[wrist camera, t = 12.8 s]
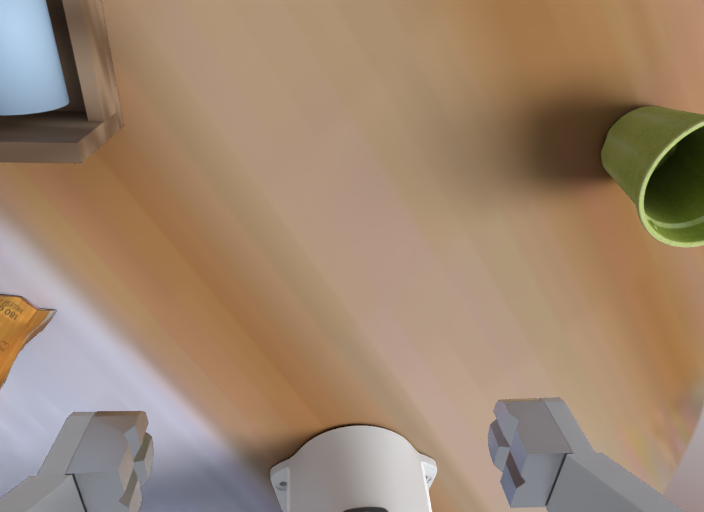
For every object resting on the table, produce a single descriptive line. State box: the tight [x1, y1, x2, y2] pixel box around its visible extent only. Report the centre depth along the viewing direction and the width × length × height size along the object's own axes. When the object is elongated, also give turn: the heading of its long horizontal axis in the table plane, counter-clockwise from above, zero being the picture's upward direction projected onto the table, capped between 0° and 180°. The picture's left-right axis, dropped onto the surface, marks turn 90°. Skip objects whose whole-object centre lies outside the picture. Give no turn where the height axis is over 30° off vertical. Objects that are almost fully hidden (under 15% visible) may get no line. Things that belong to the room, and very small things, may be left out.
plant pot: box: [601, 106, 704, 247], centre depth 37 cm, size 9×9×9 cm
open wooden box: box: [0, 0, 124, 163], centre depth 29 cm, size 14×9×8 cm, turn 177°
